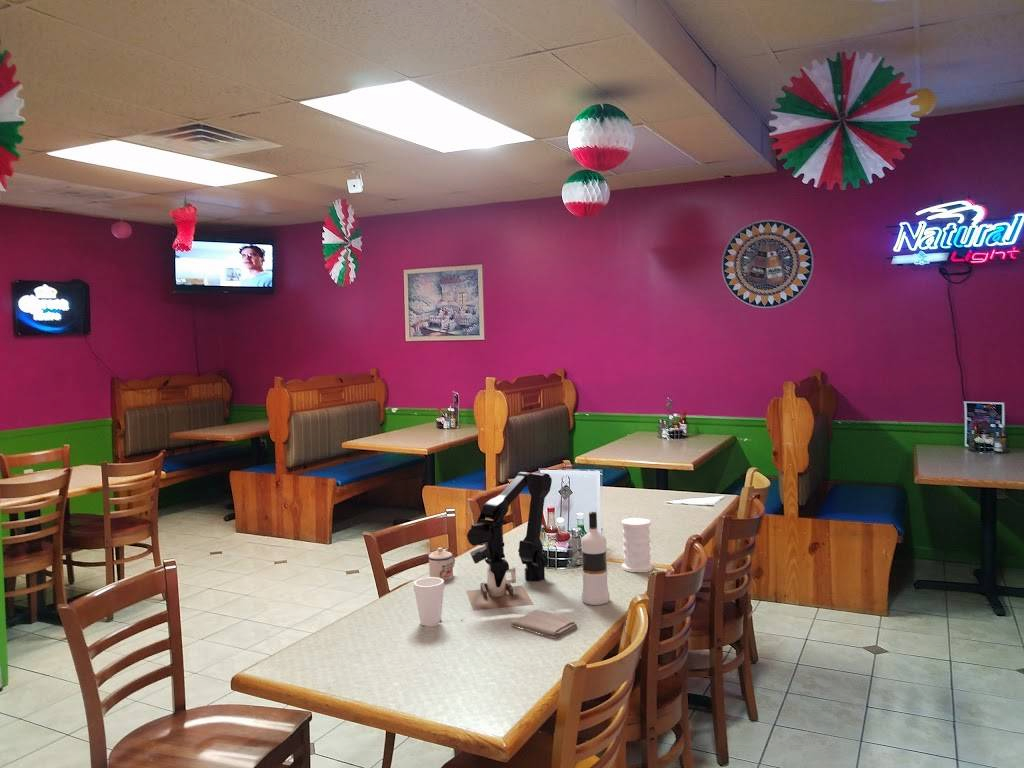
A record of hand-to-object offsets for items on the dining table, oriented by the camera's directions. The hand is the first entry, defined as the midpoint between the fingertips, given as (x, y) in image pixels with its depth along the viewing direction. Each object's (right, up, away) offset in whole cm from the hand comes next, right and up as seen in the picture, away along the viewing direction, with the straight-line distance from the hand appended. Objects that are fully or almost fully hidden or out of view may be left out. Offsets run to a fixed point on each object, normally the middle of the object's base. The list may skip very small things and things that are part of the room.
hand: (496, 584), depth 261 cm
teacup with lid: (-20, -4, +23) cm, 31 cm away
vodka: (+33, -4, -8) cm, 34 cm away
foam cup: (-20, -7, -22) cm, 30 cm away
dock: (+1, -5, -4) cm, 6 cm away
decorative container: (+53, -1, +26) cm, 58 cm away
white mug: (+2, -3, 0) cm, 4 cm away
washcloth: (+15, -6, -29) cm, 33 cm away
